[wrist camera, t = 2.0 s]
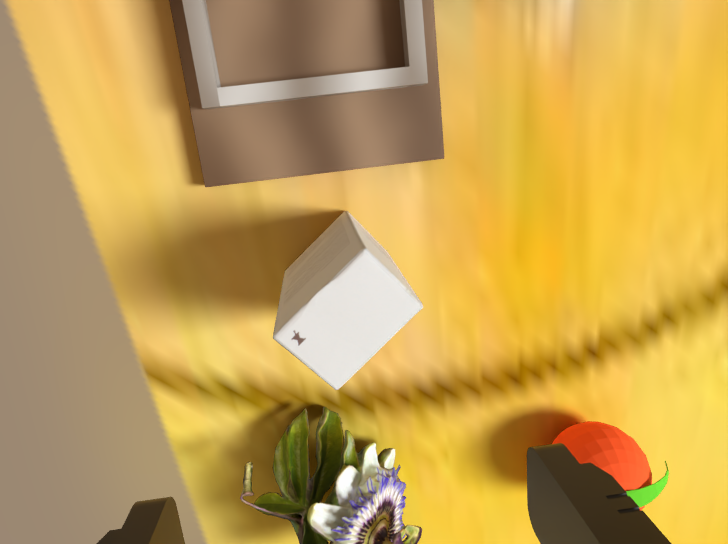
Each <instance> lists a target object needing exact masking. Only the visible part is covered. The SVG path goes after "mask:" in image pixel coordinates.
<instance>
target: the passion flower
mask: <svg viewBox="0 0 728 544" xmlns="http://www.w3.org/2000/svg"><path fill="white" fill-rule="evenodd" d="M309 434H310V431H309V425H308V417H307V410H306V408H305V409H304V410H303V411H302V413H301V414H300V415H299V416H297V417H296V418H295V419H293V421H292V423H291V424H290V425H289V426H288V427H287V429H286V431H285V432H284V434H283V436H282V437H281V439H280V441H279V443H278V445H277V446H276V449H275V455H274V462H273V472H274V475H275V479H276V482H277V483H278V485H279V488H280V491H281V494H282V495H283V496H281V495H280V494H278V493H271V492H268V493H266V494H263V495H261V496H260V497H259V498H258V499H257V500H256V501H255V503H254V504H252V503H249V502H247V501H245V500H244V499H243V496H252V495H254V493H253V492H252V489H251V487H252V482H251V477H252V468H253V465H252V463H251V462H247V463H246V465H245V473H244V479H243V485H244V489H243V492H242V494H241V497H240V499H241V500H242V502H244V503H245V504H248V505H250V506H252V507H254V508H256V509H257V510H258V511H260V512H262V513H263V514H267V515H272V516H276V517H280V518H284V519H288V520H289V521H291V523H292V525H293V527H294V530H295V532H296V534H297V536H298V539H299V543H300V544H329V543H328V542H327V540H329V541H331V542H330V544H417V543H418V541H419V539H420V538H421V533H422V529H421V527H418V526H413V525H407V526H406V527H405V525H404V524H403V522H402V514H403V510H402V509H403V508H404V507H405V501H404V500H405V498H406V497H405V496H402V494H403V492H404V489H405V488H406V484H405V483H404V482H401V481H400V479H399V478H398V476H397V474H398V471H399V469H400V467H399V466H400V465H399V466H398V468H397V470H395V468H394V467H393V464H394V460H395V449H393V448H388V449H384V450H383V451H382V452H381V453H380V454H379V455H378V456H377V453H376V444H375V443H374V442H373V443H369V444H368V445H367V446H365V447H364V448H363V449H362V450H361V451H360V452H359V453H357V452H356V447H355V441H354V438H353V437H352V435H351V433H350V432H349V431H348V430H345V443H344V436H343V430H342V422H341V419H340V417H339V415H338V413H335V412H332V411H330V410H328V409H327V408H326V407H323V415H322V416H321V418H320V420H319V423H318V426H317V430H316V441H317V442H316V459H317V468H316V471H315V473H314V475H313V477H312V478H310V466H309V461H310V460H309V451H308V448H309V445H308V436H309ZM343 445H344V448H343ZM342 450H343V452H342ZM339 471H340V473H339ZM309 478H310V479H309ZM334 481H335V483H334V487H333V490H332V491H331V493H330V494H329V496H328V497H327V499H326V501H325V503H322V502H321V500H322V498H323V496H324V494H325V492H327V491H328V490H329V489H330V486H331V485H332V484H333V482H334ZM320 502H321V503H320ZM405 535H407V537H406V539H405V540H404V541H402V539H403V538H404V537H405Z"/></svg>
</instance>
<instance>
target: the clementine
mask: <svg viewBox="0 0 728 544" xmlns="http://www.w3.org/2000/svg"><path fill="white" fill-rule="evenodd" d="M557 443H562V444H564V445H565V446H566V447H567V448H568V450H569V451H570V452H571V453H572V455H573V456H574V457H575V458H576V460H577V461H578V462H579V463H580V464H583V463H590V462H591V463H592V464H594V465H595V466H597V467H599V468H600V469H602V470H604V471H605V472H607V473H608V474H610V475H612V476H613V477H614V478H615V480H616V481H617V482H618V483H619V484H620V485H621V487H622V488H623V489H624V490H625V491H626V492H627V495H628V496H630V497H631V498H632V499H633V500H634V501H635V503H636V504H637V505H638V506H639V509H640V511H641V510H642V509H643V508H644V506H645V505H646V504H648V503H650V502H651V501H652V500H653V499H655V498H656V497H657V496H658V495H659V494H660V492H661V491H662V490H663V488H664V487H665V485H666V484H667V480H668V474H669V472H668V467H667V464H666V467H667V472H666V474H665V476H664V477H663V478H662V479H660V480H659V481H658V482H656V483H655V484H652V473H651V470H650V467H649V464H648V461H647V458H646V455H645V454H644V452H643V451H642V450H641V448H640V447H639V446H638V444H637V443H636V442H635V441H634V439H633V438H631V437H630V436H628V435H627V434H626V433H624V432H623V431H621V430H620V429H618V428H617V427H614V426H611V425H608V424H604V423H601V422H589V421H588V422H583V423H578V424H575V425H573V426H570V427H568V428H566V429H565V430H564V431H562V432H561V433H560V434H559V435H558V436H557V437H556V438H555V439H554V441H553V443H552V444H557ZM665 463H666V461H665Z"/></svg>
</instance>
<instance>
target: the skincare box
mask: <svg viewBox="0 0 728 544" xmlns="http://www.w3.org/2000/svg"><path fill="white" fill-rule="evenodd" d="M422 308H423V304H422V303H421V301H420V300H419V298H418V297H417V295H416V294H415V292H414V291H413V289H412V288H411V286H410V285H409V283H408V282H407V280H406V279H405V277H404V276H403V274H402V273H401V271H400V270H399V268H398V267H397V265H396V264H395V262H394V261H393V259H392V258H391V256H390V255H389V253H388V252H387V251H386V250H385V249H384V248H383V247H382V246H381V245H380V244H379V243H378V241H377V240H376V239H375V238H374V237H373V236H372V235H371V234H370V233H369V232H368V231H367V230H366V229H365V228H364V227H363V226H362V225H361V224H360V223H359V222H358V221H357V220H356V219H355V218H354V217H353V216H352V215H351V214H350V213H349V212H348V211H344V212H343V213H342V214H341V215H340V216H339V217H338V218H337V219H336V220H335V221H334V222H333V223H332V224H331V225H330V226H329V227H328V228H327V229H326V230H325V231H324V232H323V233H322V234H321V235H320V236H319V237H318V238H317V239H316V240H315V241H314V242H313V243H312V244H311V245H310V246H309V247H308V248H307V249H306V250H305V251H304V252H303V253H302V254H301V255H300V256H299V257H298V258H297V259H296V260H295V261H294V262H293V263H292V264H291V265H290V266H289V267H288V268H287V269H286V270H285V273H284V278H283V283H282V290H281V295H280V300H279V306H278V312H277V317H276V322H275V327H274V333H273V339H274V340H276V341H277V342H278V343H279V344H281V345H282V346H283V347H284V348H285V349H287V350H288V351H289V352H290V353H292V354H293V355H294V356H295V357H296V358H298V359H299V360H300V361H301V362H303V363H304V364H305V365H306V366H307V367H309V368H310V369H311V370H312V371H313V372H315V373H316V374H317V375H318V376H319V377H321V378H322V379H323V380H324V381H325V382H327V383H328V384H329V385H330V386H331V387H333V388H334V389H335V390H338V389H339V388H340V387H341V386H342V385H343V384H344V383H346V382H347V381H348V380H349V379H350V378H351V377H352V376H353V375H354V374H355V373H356V372H357V371H358V370H359V369H360V368H361V367H362V366H363V365H364V364H365V363H366V362H367V361H368V360H369V359H370V358H372V357H373V356H374V355H375V354H376V353H377V352H378V351H379V350H380V349H381V348H382V347H383V346H384V345H385V344H386V343H387V342H388V341H389V340H390V339H391V338H392V337H393V336H394V335H395V334H396V333H397V332H398V331H399V330H400V329H401V328H402V327H403V326H404V325H405V324H406V323H407V322H408V321H409V320H410V319H411V318H412V317H413V316H414V315H415V314H416V313H418V312H419V311H420V310H421V309H422Z"/></svg>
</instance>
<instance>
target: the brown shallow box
mask: <svg viewBox="0 0 728 544" xmlns="http://www.w3.org/2000/svg"><path fill="white" fill-rule="evenodd" d="M169 1H170V6H171V12H172V17H173V22H174V27H175V32H176V38H177V43H178V48H179V53H180V58H181V64H182V69H183V74H184V79H185V84H186V90H187V95H188V100H189V105H190V110H191V115H192V121H193V126H194V131H195V136H196V141H197V147H198V152H199V157H200V162H201V167H202V173H203V178H204V183H205V187H212V186H220V185H229V184H237V183H245V182H253V181H262V180H270V179H278V178H287V177H295V176H303V175H311V174H320V173H328V172H336V171H345V170H353V169H361V168H369V167H378V166H386V165H394V164H402V163H411V162H419V161H427V160H436V159H444V146H443V131H442V117H441V102H440V88H439V74H438V59H437V45H436V30H435V16H434V1H433V0H169Z"/></svg>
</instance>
